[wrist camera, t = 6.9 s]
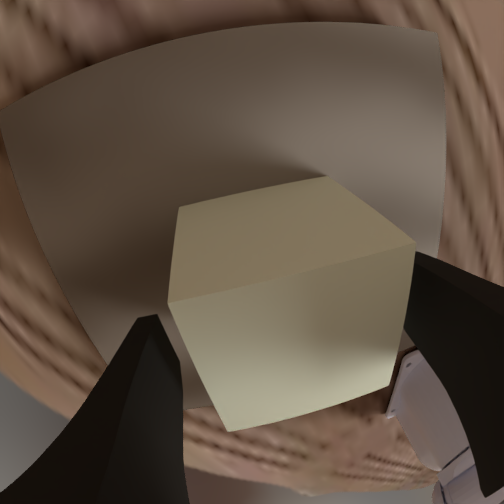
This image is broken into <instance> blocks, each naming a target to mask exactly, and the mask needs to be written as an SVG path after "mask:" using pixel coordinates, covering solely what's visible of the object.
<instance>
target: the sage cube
mask: <svg viewBox="0 0 504 504" xmlns="http://www.w3.org/2000/svg"><path fill="white" fill-rule="evenodd" d="M415 249H416V242H415V241H414V240H413V239H412V238H410V237H409V236H408V235H407V234H405V233H404V232H403V231H402V230H400V229H399V228H398V227H397V226H395V225H394V224H393V223H392V222H390V221H389V220H388V219H386V218H385V217H384V216H383V215H381V214H380V213H379V212H377V211H376V210H375V209H373V208H372V207H371V206H369V205H368V204H367V203H365V202H364V201H362V200H361V199H360V198H358V197H357V196H356V195H354V194H353V193H351V192H350V191H349V190H347V189H346V188H344V187H343V186H342V185H340V184H339V183H337V182H336V181H334V180H333V179H331V178H330V177H329V176H323V177H318V178H312V179H307V180H301V181H296V182H291V183H286V184H281V185H276V186H271V187H266V188H261V189H256V190H251V191H246V192H242V193H237V194H233V195H228V196H224V197H219V198H215V199H211V200H206V201H202V202H198V203H194V204H189V205H185V206H181V207H179V210H178V217H177V224H176V231H175V239H174V247H173V255H172V264H171V273H170V282H169V292H168V306H169V308H170V311H171V313H172V315H173V318H174V320H175V323H176V325H177V327H178V330H179V332H180V334H181V337H182V339H183V341H184V343H185V346H186V348H187V350H188V352H189V354H190V357H191V359H192V361H193V363H194V365H195V367H196V370H197V372H198V374H199V376H200V378H201V380H202V382H203V384H204V386H205V388H206V390H207V392H208V394H209V396H210V398H211V400H212V402H213V404H214V406H215V408H216V410H217V412H218V414H219V416H220V418H221V420H222V422H223V424H224V425H225V427H226V429H227V431H228V432H230V431H235V430H241V429H246V428H251V427H255V426H260V425H264V424H269V423H273V422H277V421H281V420H285V419H289V418H293V417H296V416H300V415H304V414H307V413H311V412H314V411H318V410H321V409H324V408H327V407H331V406H334V405H337V404H340V403H343V402H346V401H349V400H352V399H354V398H357V397H360V396H363V395H365V394H368V393H371V392H373V391H376V390H379V389H381V388H384V387H386V386H389V383H390V379H391V376H392V372H393V368H394V364H395V360H396V356H397V352H398V348H399V344H400V339H401V335H402V330H403V325H404V320H405V315H406V310H407V304H408V299H409V293H410V286H411V280H412V273H413V265H414V258H415Z"/></svg>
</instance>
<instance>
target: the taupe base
mask: <svg viewBox="0 0 504 504" xmlns="http://www.w3.org/2000/svg"><path fill="white" fill-rule="evenodd" d="M0 129H1V133H2V137H3V141H4V144H5V148H6V152H7V155H8V159H9V162H10V166H11V169H12V172H13V175H14V178H15V181H16V184H17V187H18V190H19V193H20V196H21V199H22V201H23V204H24V207H25V209H26V212H27V215H28V217H29V220H30V222H31V225H32V227H33V229H34V232H35V234H36V237H37V239H38V241H39V243H40V246H41V248H42V250H43V252H44V254H45V257H46V259H47V261H48V263H49V265H50V267H51V269H52V271H53V273H54V275H55V277H56V279H57V281H58V283H59V285H60V287H61V289H62V291H63V293H64V294H65V296H66V298H67V300H68V302H69V304H70V305H71V307H72V309H73V311H74V312H75V314H76V316H77V318H78V319H79V321H80V323H81V324H82V326H83V328H84V329H85V331H86V333H87V334H88V336H89V337H90V339H91V341H92V342H93V344H94V345H95V347H96V348H97V350H98V351H99V353H100V355H101V356H102V358H103V359H104V360H105V362H106V363H107V365H109V363H110V362H111V360H112V358H113V357H114V355H115V353H116V352H117V350H118V349H119V347H120V345H121V344H122V342H123V340H124V339H125V337H126V335H127V334H128V332H129V330H130V329H131V327H132V325H133V324H134V322H135V321H136V319H137V318H138V317H143V316H148V315H153V314H158V316H159V318H160V321H161V323H162V325H163V327H164V329H165V331H166V334H167V336H168V338H169V340H170V342H171V344H172V346H173V348H174V350H175V352H176V354H177V356H178V358H179V360H180V366H181V375H182V384H183V410H187V409H194V408H200V407H206V406H212V405H214V404H213V402H212V400H211V398H210V396H209V394H208V392H207V390H206V388H205V386H204V384H203V382H202V380H201V378H200V376H199V374H198V372H197V370H196V367H195V365H194V363H193V361H192V359H191V357H190V354H189V352H188V350H187V348H186V346H185V343H184V341H183V339H182V337H181V334H180V332H179V330H178V327H177V325H176V323H175V320H174V318H173V315H172V313H171V311H170V308H169V306H168V292H169V282H170V273H171V264H172V255H173V247H174V239H175V231H176V224H177V217H178V210H179V207H181V206H185V205H189V204H194V203H198V202H202V201H206V200H211V199H215V198H219V197H224V196H228V195H233V194H237V193H242V192H246V191H251V190H256V189H261V188H266V187H271V186H276V185H281V184H286V183H291V182H296V181H301V180H307V179H312V178H318V177H323V176H329V177H330V178H331V179H333V180H334V181H336V182H337V183H339V184H340V185H342V186H343V187H344V188H346V189H347V190H349V191H350V192H351V193H353V194H354V195H356V196H357V197H358V198H360V199H361V200H362V201H364V202H365V203H367V204H368V205H369V206H371V207H372V208H373V209H375V210H376V211H377V212H379V213H380V214H381V215H383V216H384V217H385V218H386V219H388V220H389V221H390V222H392V223H393V224H394V225H395V226H397V227H398V228H399V229H400V230H402V231H403V232H404V233H405V234H407V235H408V236H409V237H410V238H412V239H413V240H414V241H415V242H416V249H415V251H418V252H421V253H424V254H426V255H429V256H431V257H434V258H436V259H437V254H438V247H439V240H440V232H441V224H442V215H443V204H444V191H445V173H446V111H445V94H444V81H443V71H442V62H441V54H440V47H439V41H438V35H437V33H435V32H430V31H424V30H418V29H412V28H405V27H398V26H389V25H380V24H368V23H351V22H294V23H277V24H265V25H255V26H246V27H239V28H231V29H225V30H219V31H213V32H207V33H202V34H197V35H192V36H187V37H183V38H178V39H174V40H170V41H166V42H162V43H158V44H155V45H151V46H148V47H144V48H141V49H137V50H134V51H131V52H128V53H125V54H122V55H119V56H116V57H113V58H110V59H107V60H104V61H102V62H99V63H96V64H94V65H91V66H89V67H86V68H84V69H81V70H79V71H77V72H74V73H72V74H70V75H67V76H65V77H63V78H61V79H58V80H56V81H54V82H52V83H50V84H48V85H46V86H44V87H42V88H40V89H38V90H36V91H34V92H32V93H30V94H28V95H26V96H25V97H23V98H21V99H19V100H17V101H16V102H14V103H12V104H10V105H9V106H7V107H5V108H4V109H2V110H0ZM413 346H415V344H414V343H413V342H412V340H411V339H410V337H409V336H408V334H407V333H406V332H405V330H404V328H403V330H402V335H401V339H400V344H399V348H398V352H400V351H403V350H405V349H408V348H410V347H413ZM398 352H397V353H398Z"/></svg>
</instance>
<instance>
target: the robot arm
mask: <svg viewBox="0 0 504 504" xmlns="http://www.w3.org/2000/svg"><path fill="white" fill-rule="evenodd" d="M403 328H404V330H405V332H406V333H407V334H408V336H409V337H410V339H411V340H412V342H413V343H414V344H415V346H416V347H417V349H418V350H416V351H413V352H411V353H409V354H407V355H405V356H404V358H403V359H402V363H401V366H400V370H399V374H398V377H397V380H396V384H395V387H394V390H393V393H392V396H391V400H390V403H389V406H388V409H387V411H386V414H385V416H386V418H391V417H394V416H396V417H397V419H398V421H399V422H400V424H401V426H402V428H403V430H404V432H405V434H406V436H407V438H408V440H409V441H410V443H411V445H412V447H413V449H414V451H415V453H416V455H417V457H418V459H419V460H420V462H421V463H422V464H423V465H424V466H426V467H428V468H429V469H432V470H435V471H440V472H439V473H437V477H438V479H439V480H438V481H437V482H436V484H435V486H434V491H433V494H432V502H433V504H504V287H502V286H500V285H497V284H495V283H492V282H489V281H487V280H485V279H482V278H480V277H478V276H475V275H473V274H471V273H469V272H466V271H464V270H462V269H459V268H457V267H455V266H453V265H450V264H448V263H446V262H443V261H441V260H439V259H436V258H434V257H431V256H429V255H426V254H424V253H421V252H418V251H415V258H414V265H413V273H412V280H411V286H410V293H409V299H408V304H407V310H406V315H405V320H404V325H403ZM0 504H190V503H189V498H188V492H187V486H186V480H185V473H184V461H183V384H182V375H181V366H180V360H179V358H178V356H177V354H176V352H175V350H174V348H173V346H172V344H171V342H170V340H169V338H168V336H167V334H166V331H165V329H164V327H163V325H162V323H161V321H160V318H159V316H158V314H153V315H148V316H143V317H138V318H137V319H136V321H135V322H134V324H133V325H132V327H131V329H130V330H129V332H128V334H127V335H126V337H125V339H124V340H123V342H122V344H121V345H120V347H119V349H118V350H117V352H116V353H115V355H114V357H113V358H112V360H111V362H110V363H109V365H108V366H107V368H106V370H105V371H104V373H103V375H102V376H101V378H100V379H99V381H98V382H97V384H96V385H95V387H94V388H93V390H92V391H91V393H90V394H89V396H88V397H87V399H86V400H85V402H84V403H83V405H82V406H81V407H80V409H79V410H78V412H77V413H76V414H75V416H74V417H73V418H72V419H71V421H70V422H69V423H68V425H67V426H66V427H65V428H64V430H63V431H62V432H61V433H60V435H59V436H58V437H57V438H56V439H55V440H54V441H53V443H52V444H51V445H50V446H49V447H48V448H47V449H46V450H45V452H44V453H43V454H42V455H41V456H40V457H39V458H38V459H37V460H36V461H35V462H34V463H33V464H32V465H31V466H30V467H29V468H28V469H27V470H26V471H25V472H24V473H23V474H22V475H21V476H20V477H19V478H18V479H16V480H15V481H14V482H13V483H12V484H10V485H9V486H8V487H7V488H6V489H4V490H3V491H2V492H0Z"/></svg>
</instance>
